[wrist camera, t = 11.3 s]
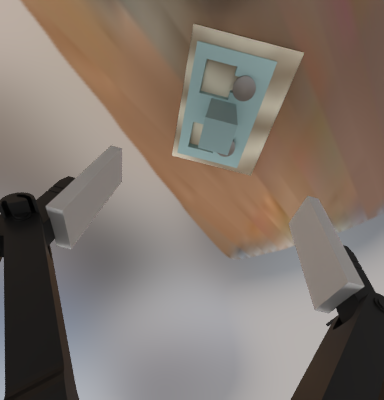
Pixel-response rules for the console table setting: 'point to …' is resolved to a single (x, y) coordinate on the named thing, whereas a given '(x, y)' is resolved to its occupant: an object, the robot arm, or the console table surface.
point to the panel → (242, 108)
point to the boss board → (225, 84)
